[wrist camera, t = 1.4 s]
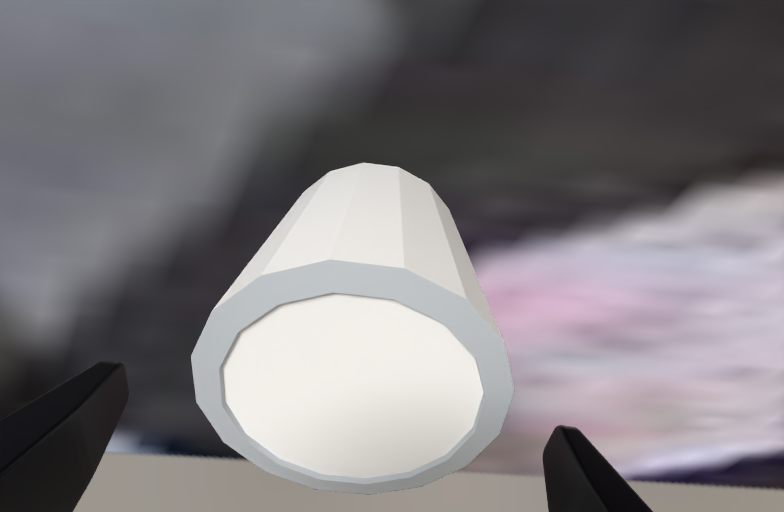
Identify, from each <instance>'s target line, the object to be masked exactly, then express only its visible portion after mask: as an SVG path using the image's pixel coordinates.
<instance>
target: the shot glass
mask: <svg viewBox="0 0 784 512" xmlns="http://www.w3.org/2000/svg"><path fill="white" fill-rule="evenodd" d="M191 361H192V369H193V378H194V386H195V394H196V402H197V404H198V405H199V407H200V408H201V410H202V411H203V413H204V414H205V416H206V417H207V419H208V420H209V421H210V423H211V424H212V426H213V427H214V429H215V430H216V432H217V433H218V435H219V436H220V438H221V439H222V441H223V442H224V443H225V444H227V445H228V446H230V447H231V448H232V449H234V450H235V451H237V452H238V453H239V454H241V455H242V456H244V457H245V458H246V459H248V460H249V461H251V462H252V463H254V464H255V465H256V466H258V467H259V468H260V469H262V470H263V471H265V472H268V473H270V474H273V475H276V476H279V477H281V478H284V479H287V480H290V481H293V482H296V483H298V484H301V485H304V486H307V487H310V488H312V489H315V490H325V491H336V492H346V493H357V494H366V495H370V494H377V493H383V492H390V491H397V490H404V489H410V488H417V487H422V486H424V485H426V484H428V483H431V482H433V481H435V480H437V479H439V478H442V477H444V476H446V475H448V474H451V473H453V472H455V471H457V470H459V469H462V468H464V467H466V466H467V465H468V464H469V463H470V462H471V461H472V460H473V459H474V458H475V457H476V456H477V455H478V454H479V453H481V452H482V451H483V450H484V449H485V448H486V447H487V446H488V445H489V444H490V443H491V442H492V441H493V440H494V439H495V438H496V437H497V436H498V435H499V434H500V432H501V429H502V426H503V423H504V420H505V417H506V414H507V412H508V409H509V406H510V403H511V400H512V397H513V395H514V392H515V391H514V386H513V381H512V376H511V371H510V366H509V362H508V357H507V352H506V347H505V343H504V341H503V338H502V336H501V333H500V331H499V329H498V326H497V324H496V321H495V319H494V317H493V314H492V312H491V309H490V307H489V305H488V302H487V300H486V297H485V295H484V292H483V290H482V288H481V285H480V283H479V280H478V278H477V276H476V273H475V271H474V268H473V266H472V264H471V261H470V259H469V256H468V254H467V252H466V249H465V247H464V244H463V242H462V240H461V237H460V235H459V232H458V230H457V228H456V225H455V223H454V220H453V218H452V216H451V213H450V211H449V209H448V207H447V206H446V205H445V204H444V202H443V201H442V200H441V199H440V197H439V196H438V195H437V193H436V192H435V191H434V190H433V188H432V187H431V186H430V185H429V184H428V183H426V182H425V181H423V180H421V179H419V178H417V177H416V176H414V175H412V174H410V173H408V172H407V171H405V170H403V169H401V168H399V167H393V166H385V165H378V164H370V163H360V164H356V165H353V166H349V167H345V168H341V169H337V170H334V171H330V172H328V173H327V174H326V175H325V176H323V177H322V178H321V179H319V180H318V181H317V182H316V183H314V184H313V185H312V186H310V187H309V188H308V189H307V190H305V191H304V192H303V194H302V195H301V196H300V197H299V199H298V200H297V201H296V203H295V204H294V205H293V207H292V208H291V209H290V210H289V212H288V213H287V214H286V216H285V217H284V218H283V220H282V221H281V222H280V223H279V225H278V226H277V227H276V229H275V230H274V231H273V232H272V234H271V235H270V236H269V238H268V239H267V240H266V242H265V243H264V244H263V245H262V247H261V248H260V249H259V251H258V252H257V253H256V255H255V256H254V257H253V258H252V260H251V261H250V262H249V264H248V265H247V266H246V267H245V269H244V270H243V271H242V273H241V274H240V275H239V277H238V278H237V279H236V280H235V282H234V283H233V284H232V286H231V287H230V288H229V290H228V291H227V292H226V293H225V295H224V296H223V297H222V299H221V300H220V301H219V303H218V304H217V305H216V306H215V308H214V309H213V310H212V312H211V314H210V316H209V318H208V321H207V323H206V325H205V327H204V329H203V331H202V334H201V336H200V338H199V340H198V342H197V344H196V347H195V349H194V351H193V353H192V355H191Z"/></svg>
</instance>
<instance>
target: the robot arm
mask: <svg viewBox="0 0 784 512" xmlns="http://www.w3.org/2000/svg"><path fill="white" fill-rule="evenodd" d="M128 395H129V390H128V383H127V376H126V370H125V366H124V365H123V364H122V363H118V362H111V361H100V362H98V363H96V364H94V365H92V366H91V367H89V368H87V369H86V370H84V371H82V372H81V373H79V374H77V375H75V376H74V377H72V378H70V379H69V380H67V381H65V382H64V383H62V384H60V385H58V386H57V387H55V388H53V389H52V390H50V391H48V392H47V393H45V394H43V395H41V396H40V397H38V398H36V399H35V400H33V401H31V402H30V403H28V404H26V405H24V406H23V407H21V408H19V409H18V410H16V411H14V412H13V413H11V414H9V415H7V416H6V417H4V418H2V419H1V420H0V512H73V510H74V508H75V507H76V505H77V503H78V501H79V500H80V498H81V496H82V495H83V493H84V491H85V490H86V488H87V486H88V484H89V483H90V481H91V479H92V477H93V475H94V473H95V471H96V469H97V467H98V465H99V463H100V461H101V458H102V456H103V454H104V452H105V450H106V447H107V445H108V443H109V441H110V439H111V436H112V434H113V432H114V430H115V428H116V425H117V423H118V421H119V419H120V416H121V414H122V412H123V410H124V408H125V405H126V403H127V400H128ZM543 466H544V475H545V483H546V492H547V501H548V509H549V512H653V511H652V510H651V509H650V508H649V507H648V506H647V504H646V503H645V502H644V501H643V500H642V499H641V498H640V497H639V496H638V494H637V493H636V492H635V491H634V490H633V489H632V488H631V487H630V486H629V484H628V483H627V482H626V481H625V480H624V479H623V478H622V477H621V476H620V475H619V473H618V472H617V471H616V470H615V469H614V468H613V467H612V466H611V465H610V463H609V462H608V461H607V460H606V459H605V458H604V457H603V456H602V455H601V453H600V452H599V451H598V450H597V449H596V448H595V447H594V446H593V445H592V443H591V442H590V441H589V440H588V439H587V438H586V437H585V436H584V435H583V434H582V432H581V431H580V430H578V429H577V428H575V427H570V426H563V425H558V426H557V427H556V428H555V429H554V431H553V433H552V435H551V437H550V439H549V441H548V442H547V444H546V446H545V448H544V452H543Z"/></svg>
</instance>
